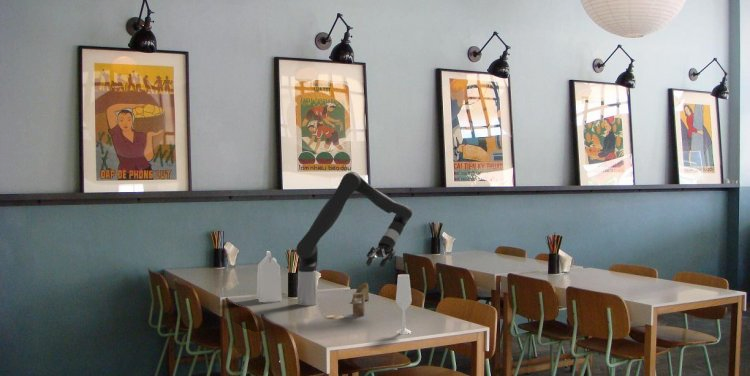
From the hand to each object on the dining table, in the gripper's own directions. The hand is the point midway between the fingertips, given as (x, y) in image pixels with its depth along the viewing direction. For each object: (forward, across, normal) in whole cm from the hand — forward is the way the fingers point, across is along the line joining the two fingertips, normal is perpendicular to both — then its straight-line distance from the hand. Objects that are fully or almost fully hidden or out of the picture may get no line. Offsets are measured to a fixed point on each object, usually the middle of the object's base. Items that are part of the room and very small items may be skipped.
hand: (374, 265), depth 350 cm
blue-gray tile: (+24, 0, +8) cm, 25 cm away
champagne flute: (+35, +39, -2) cm, 52 cm away
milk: (+22, -68, +10) cm, 72 cm away
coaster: (+32, -6, 0) cm, 32 cm away
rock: (+2, -28, +31) cm, 41 cm away
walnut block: (+24, 0, +8) cm, 25 cm away
